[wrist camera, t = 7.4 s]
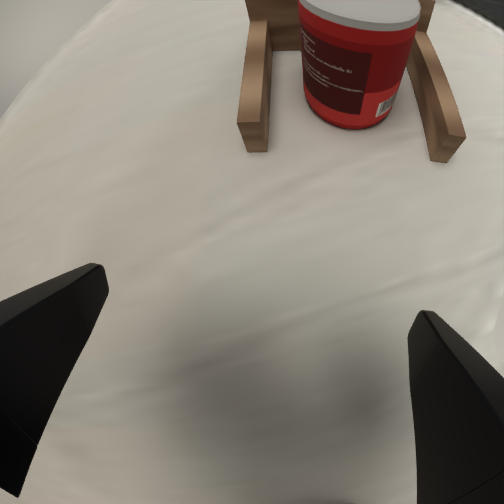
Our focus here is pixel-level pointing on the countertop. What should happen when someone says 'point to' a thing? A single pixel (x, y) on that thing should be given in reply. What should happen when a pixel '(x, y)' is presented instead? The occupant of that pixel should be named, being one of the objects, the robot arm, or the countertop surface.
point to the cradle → (288, 38)
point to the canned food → (355, 56)
